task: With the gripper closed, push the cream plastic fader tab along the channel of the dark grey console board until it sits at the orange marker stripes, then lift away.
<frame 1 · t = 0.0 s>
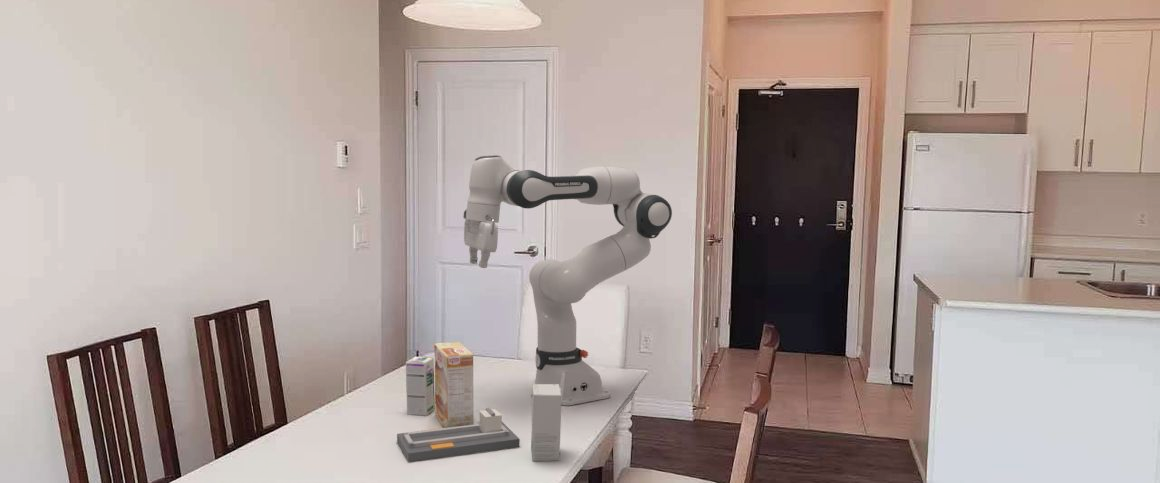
hand: (478, 265, 214), 39 cm above the table, tool pointing down, fingers open, 8 cm apart
coffeecake box: (453, 423, 203), on the table
fader tab: (490, 421, 190), point 5 cm above the table, slide at 0.0 cm
skincare box: (545, 455, 181), on the table
console board: (457, 444, 187), on the table
syrup box: (420, 412, 212), on the table
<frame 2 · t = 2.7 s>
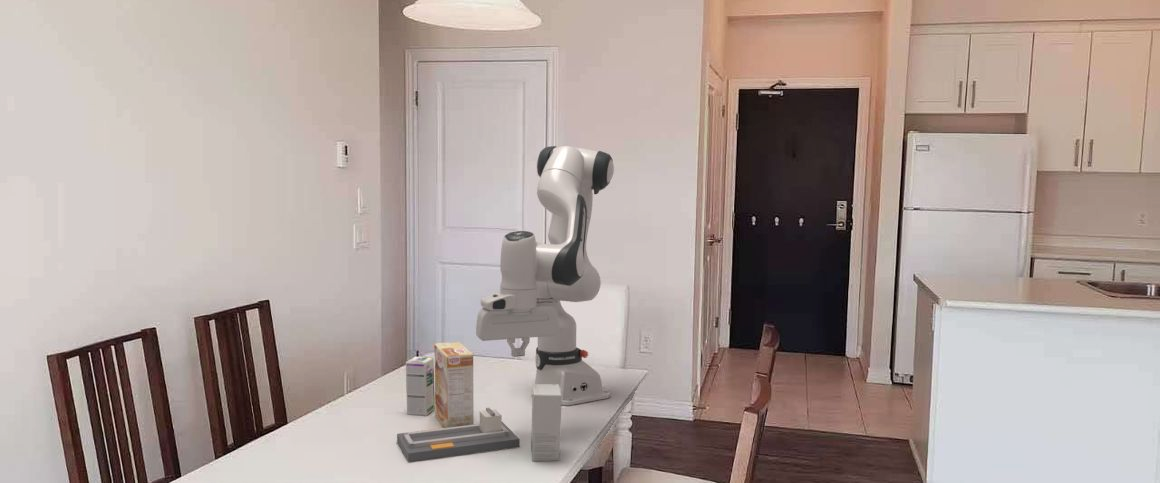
hand: (518, 356, 191), 20 cm above the table, tool pointing down, fingers closed
nothing on the table moved.
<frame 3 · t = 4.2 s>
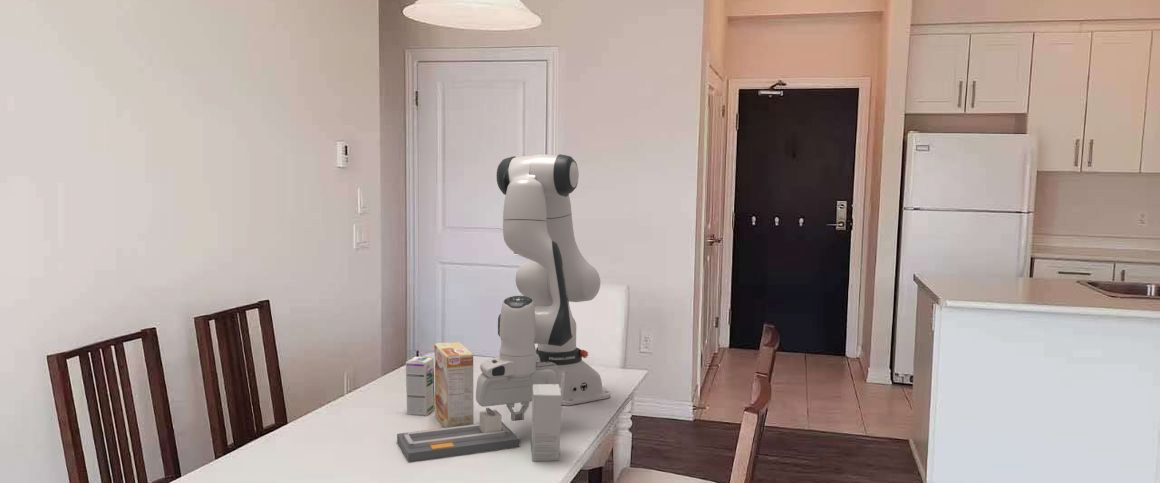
hand: (517, 419, 193), 4 cm above the table, tool pointing down, fingers closed
nothing on the table moved.
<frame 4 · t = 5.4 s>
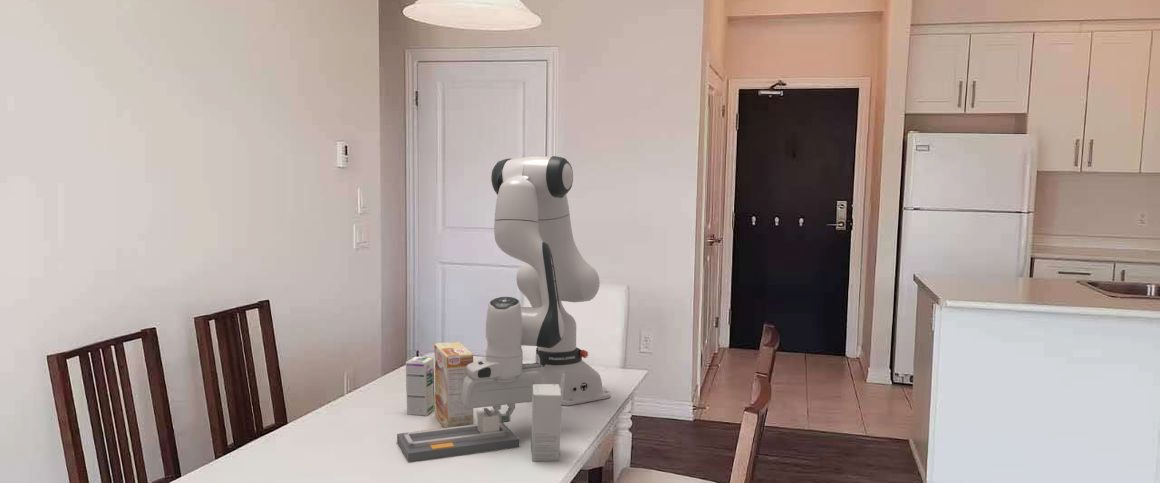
hand: (503, 421, 191), 4 cm above the table, tool pointing down, fingers closed
fader tab: (488, 421, 190), point 5 cm above the table, slide at 0.6 cm, touching gripper
everything else where it was.
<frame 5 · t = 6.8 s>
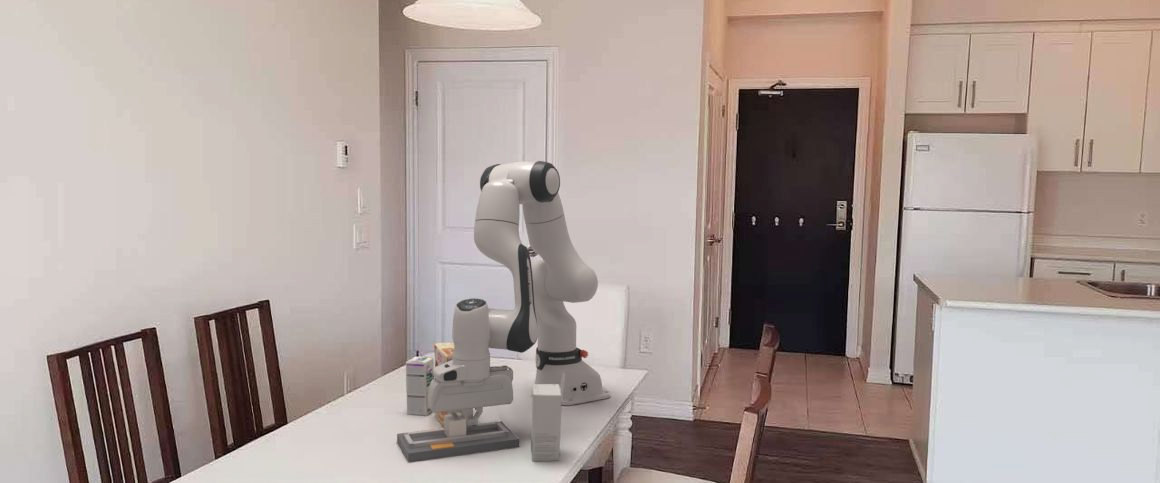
hand: (471, 425, 188), 4 cm above the table, tool pointing down, fingers closed
fader tab: (455, 425, 187), point 5 cm above the table, slide at 8.7 cm, touching gripper
everything else where it was.
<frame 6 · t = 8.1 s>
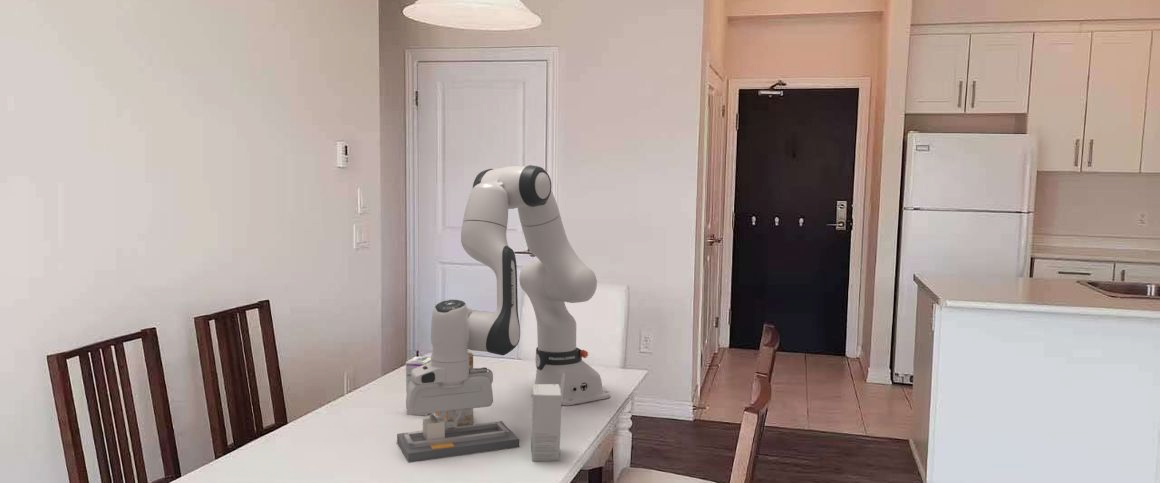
hand: (450, 428, 186), 4 cm above the table, tool pointing down, fingers closed
fader tab: (433, 427, 185), point 5 cm above the table, slide at 13.7 cm, touching gripper
everything else where it was.
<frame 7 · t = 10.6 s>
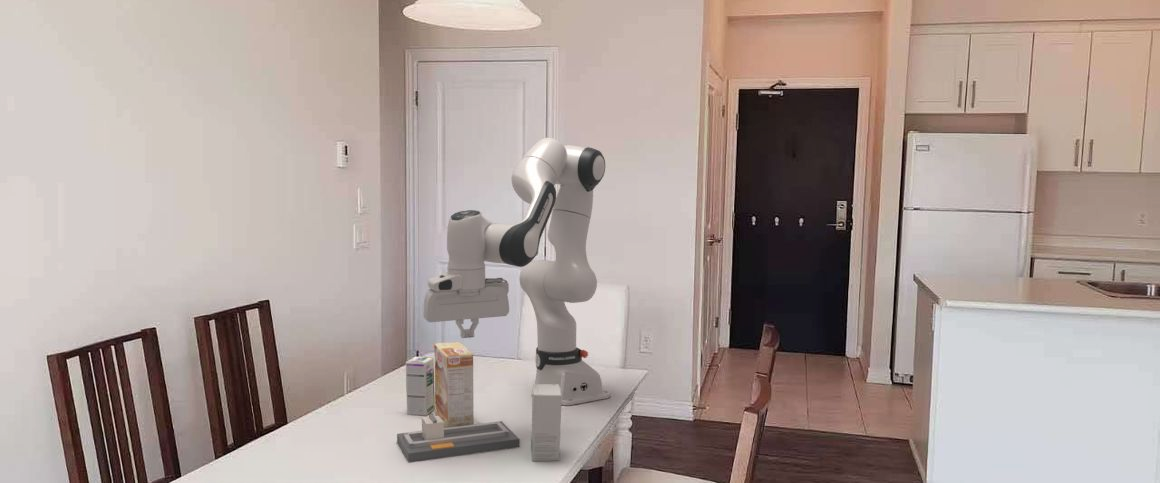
hand: (467, 337, 188), 25 cm above the table, tool pointing down, fingers closed
fader tab: (432, 427, 185), point 5 cm above the table, slide at 13.9 cm
everything else where it was.
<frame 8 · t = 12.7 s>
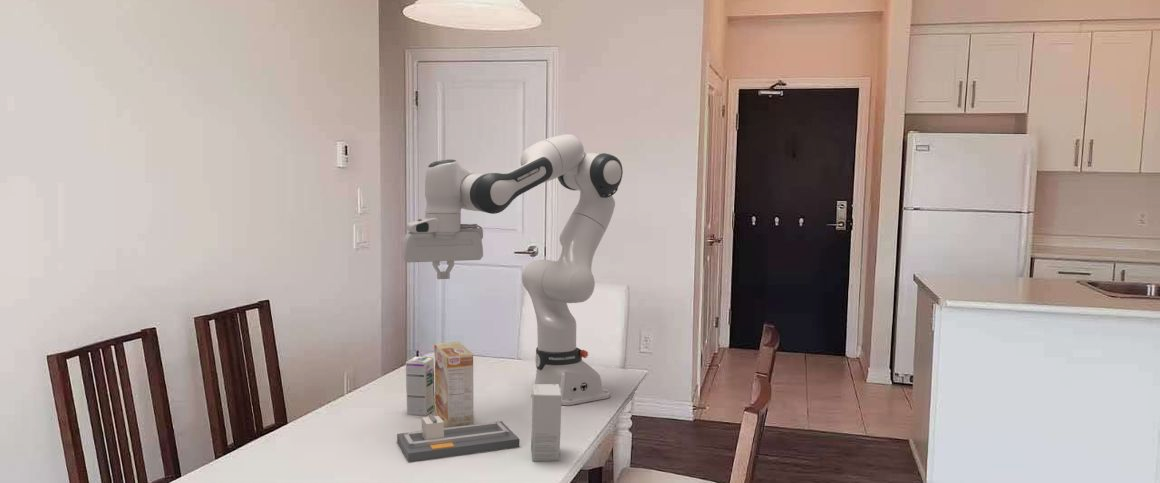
hand: (443, 278, 201), 37 cm above the table, tool pointing down, fingers closed
nothing on the table moved.
at the end: fader tab slide at 13.9 cm; the gripper is holding nothing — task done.
